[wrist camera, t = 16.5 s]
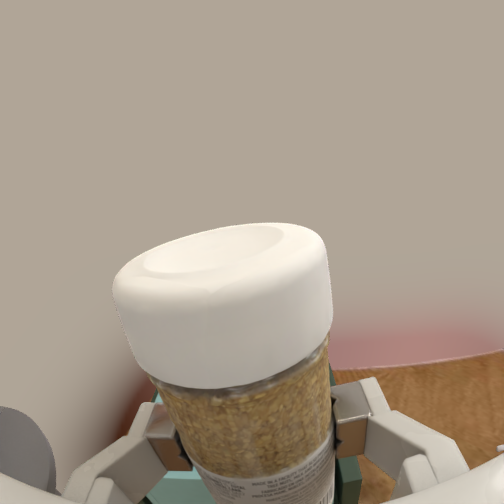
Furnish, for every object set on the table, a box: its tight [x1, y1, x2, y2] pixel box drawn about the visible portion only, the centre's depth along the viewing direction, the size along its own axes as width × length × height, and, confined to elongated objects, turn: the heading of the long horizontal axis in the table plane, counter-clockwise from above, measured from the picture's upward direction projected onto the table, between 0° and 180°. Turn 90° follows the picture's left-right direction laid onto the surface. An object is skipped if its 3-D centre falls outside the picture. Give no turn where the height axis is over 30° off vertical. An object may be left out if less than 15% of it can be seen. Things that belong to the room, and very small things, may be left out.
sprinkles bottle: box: [112, 223, 335, 504], centre depth 8 cm, size 5×5×13 cm
